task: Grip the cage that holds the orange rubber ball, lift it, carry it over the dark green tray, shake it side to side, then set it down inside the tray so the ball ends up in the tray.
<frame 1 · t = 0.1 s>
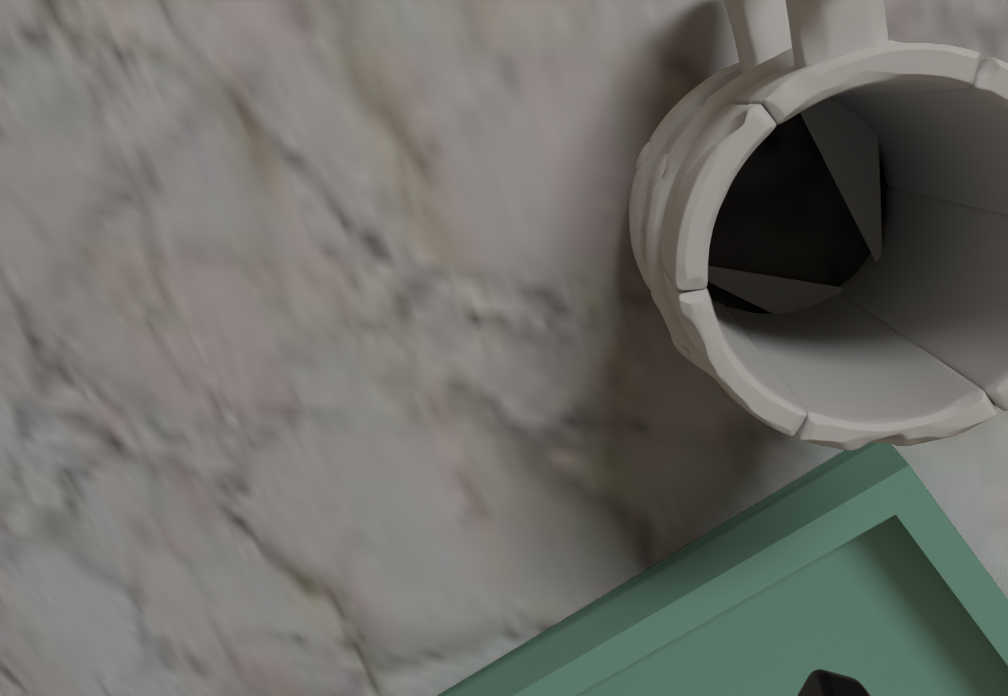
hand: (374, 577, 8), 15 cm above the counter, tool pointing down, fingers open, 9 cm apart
mug: (755, 131, 21), on the counter
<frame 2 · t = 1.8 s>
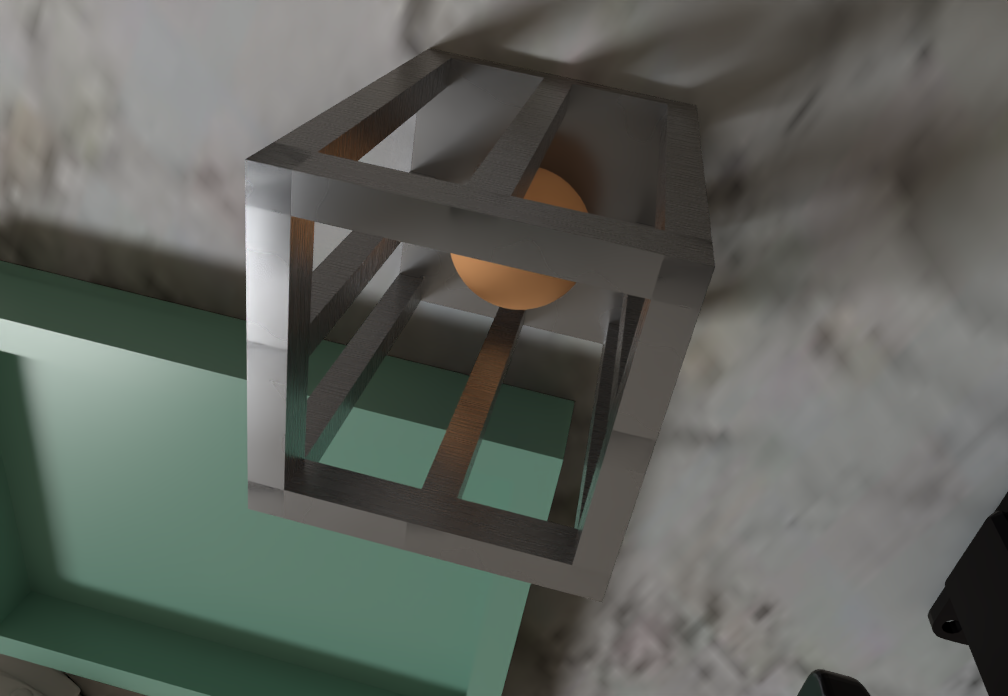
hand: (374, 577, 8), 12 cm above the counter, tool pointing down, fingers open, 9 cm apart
cage: (535, 204, 18), on the counter, touching ball
ball: (520, 238, 16), point 2 cm above the counter, touching cage
tray: (250, 512, 25), on the counter
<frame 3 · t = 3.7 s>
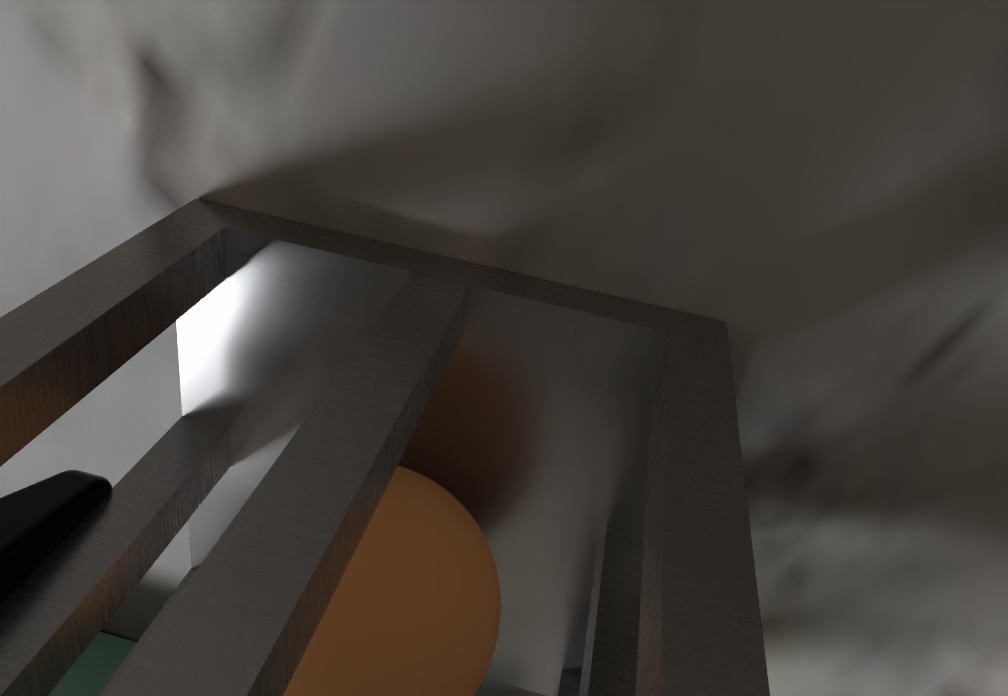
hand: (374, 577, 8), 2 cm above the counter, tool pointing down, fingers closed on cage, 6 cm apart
cage: (423, 469, 10), on the counter, touching ball, gripper
ball: (357, 605, 8), point 2 cm above the counter, tilted 12°, touching cage
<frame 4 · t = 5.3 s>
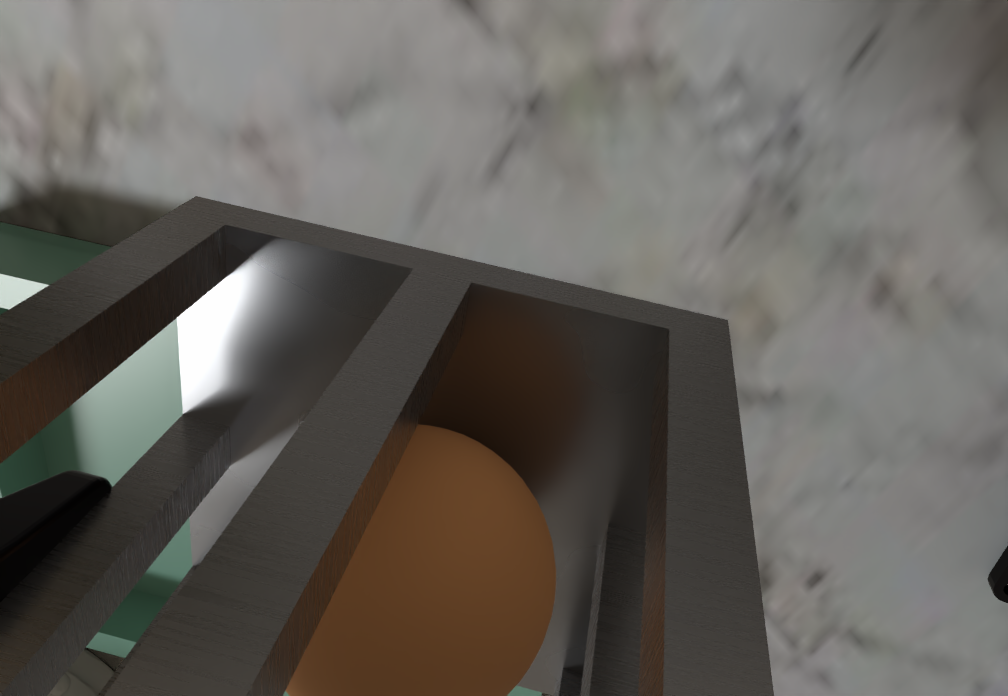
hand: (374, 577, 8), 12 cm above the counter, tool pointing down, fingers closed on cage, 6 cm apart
cage: (424, 467, 10), point 10 cm above the counter, touching ball, gripper
ball: (405, 574, 8), point 12 cm above the counter, tilted 18°, touching cage
tray: (290, 486, 24), on the counter
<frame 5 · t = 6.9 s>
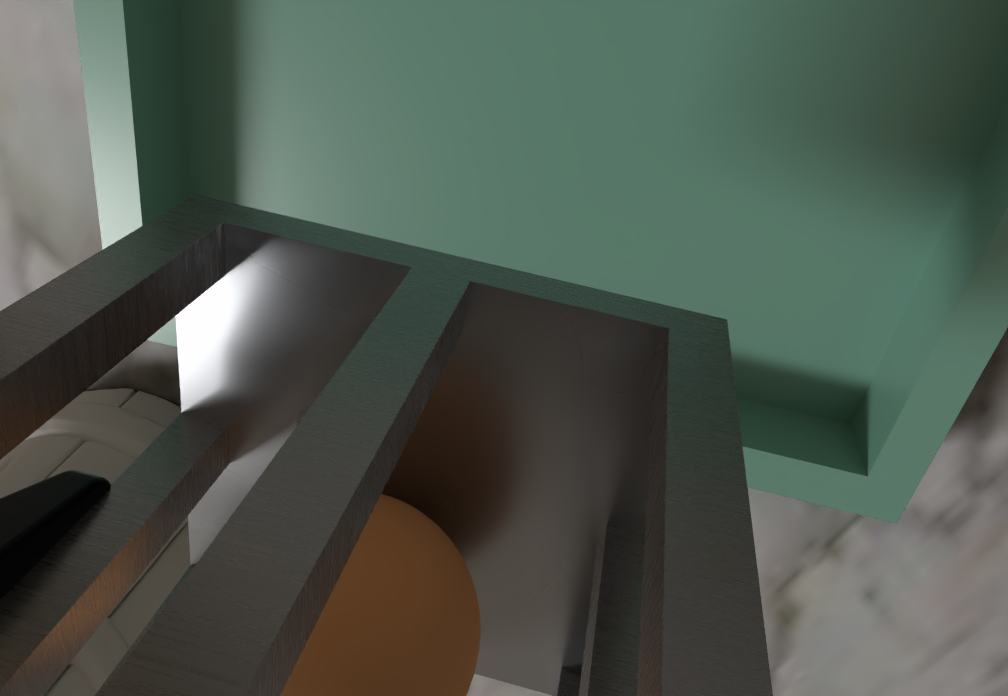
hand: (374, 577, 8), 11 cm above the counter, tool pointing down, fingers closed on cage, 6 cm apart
mug: (135, 515, 25), on the counter
cage: (423, 466, 10), point 9 cm above the counter, touching ball, gripper
ball: (341, 630, 8), point 11 cm above the counter, tilted 31°, touching cage
tray: (562, 81, 16), on the counter
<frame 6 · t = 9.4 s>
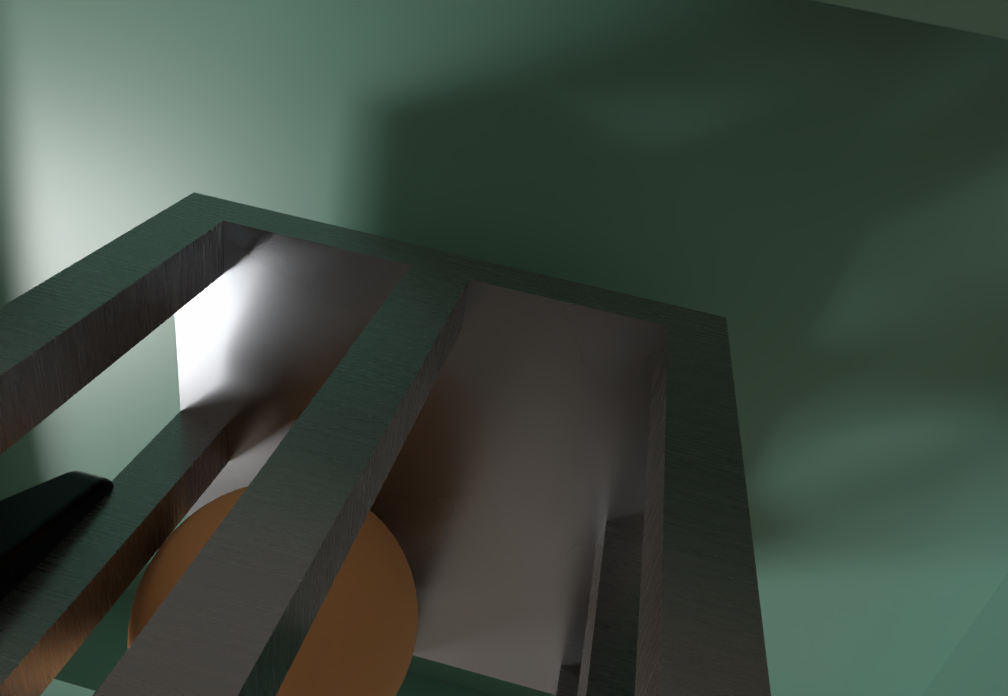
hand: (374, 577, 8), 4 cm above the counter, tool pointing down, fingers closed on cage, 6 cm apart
cage: (422, 464, 10), point 2 cm above the counter, touching ball, gripper
ball: (279, 620, 9), point 4 cm above the counter, tilted 48°, touching cage
tray: (458, 381, 12), on the counter
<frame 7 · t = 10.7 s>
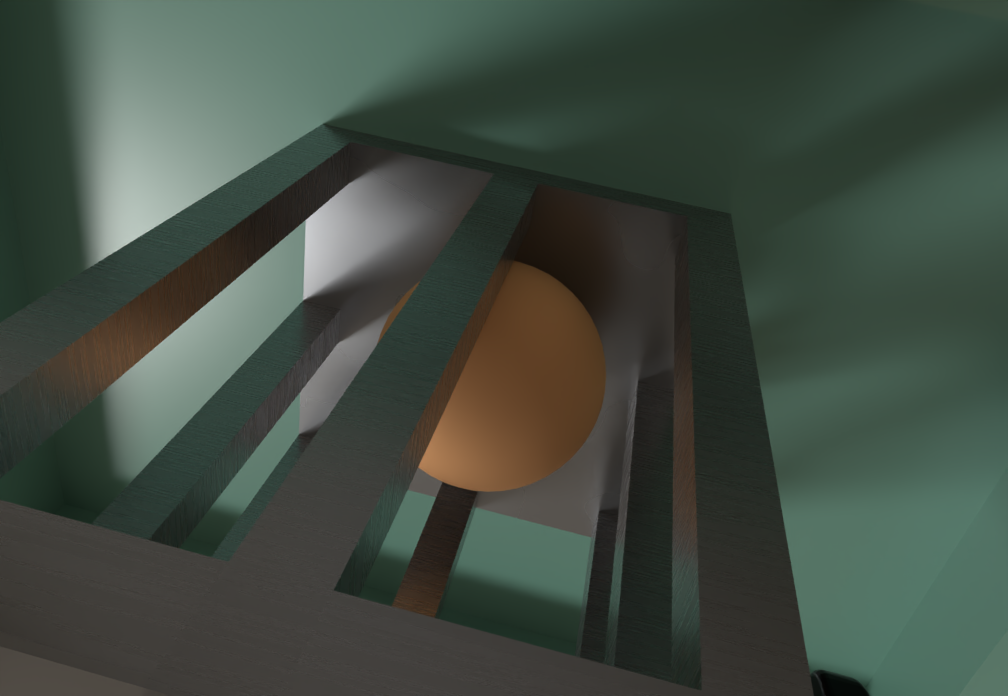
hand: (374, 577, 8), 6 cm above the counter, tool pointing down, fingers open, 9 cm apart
cage: (490, 345, 12), point 1 cm above the counter, touching ball, tray
ball: (489, 374, 10), point 3 cm above the counter, tilted 27°, touching cage
tray: (492, 332, 13), on the counter
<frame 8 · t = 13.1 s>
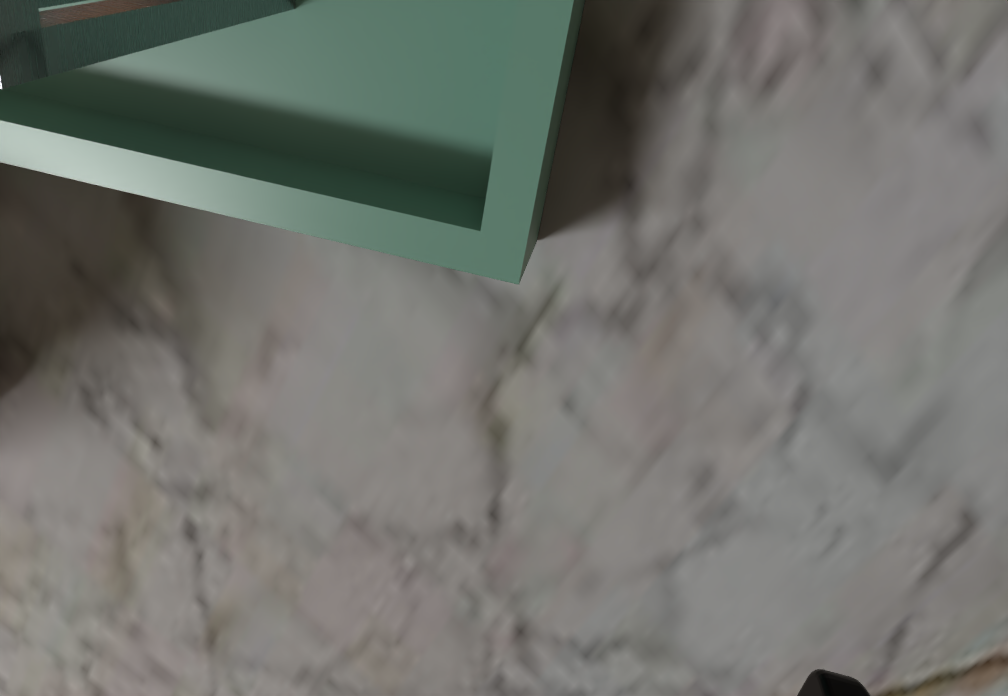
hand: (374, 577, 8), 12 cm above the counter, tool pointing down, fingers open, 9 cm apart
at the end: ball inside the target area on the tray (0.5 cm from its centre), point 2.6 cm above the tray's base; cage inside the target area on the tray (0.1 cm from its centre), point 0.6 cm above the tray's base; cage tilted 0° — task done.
